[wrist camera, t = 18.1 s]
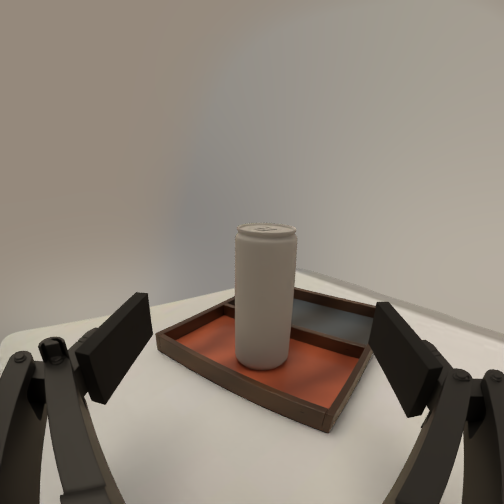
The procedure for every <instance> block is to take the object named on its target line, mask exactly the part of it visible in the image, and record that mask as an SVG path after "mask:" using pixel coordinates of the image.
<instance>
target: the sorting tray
mask: <svg viewBox="0 0 504 504" xmlns="http://www.w3.org/2000/svg"><path fill="white" fill-rule="evenodd" d="M375 308H376V306H373V305H369V304H364V303H360V302H355V301H351V300H347V299H342V298H338V297H334V296H329V295H325V294H321V293H317V292H312V291H308V290H304V289H300V288H296V287H294V296H293V308H292V320H291V330H290V341H289V351H288V357H287V359H286V360H285V361H284V362H283V363H282V364H281V365H280V366H278V367H276V368H274V369H270V370H254V369H250V368H248V367H246V366H244V365H243V364H242V363H241V362H240V361H239V360H238V359H237V358H236V354H235V296H234V297H232V298H230V299H228V300H226V301H224V302H222V303H220V304H218V305H215V306H213V307H211V308H209V309H207V310H205V311H203V312H201V313H199V314H197V315H194V316H192V317H190V318H188V319H186V320H184V321H182V322H179V323H177V324H175V325H173V326H171V327H169V328H166V329H164V330H162V331H160V332H158V333H156V334H155V335H156V342H157V348H158V350H159V351H161V352H163V353H164V354H166V355H167V356H169V357H171V358H172V359H174V360H176V361H177V362H179V363H181V364H182V365H184V366H186V367H187V368H189V369H191V370H193V371H194V372H196V373H198V374H200V375H201V376H203V377H205V378H207V379H209V380H210V381H212V382H214V383H216V384H218V385H220V386H222V387H224V388H226V389H227V390H229V391H231V392H233V393H235V394H237V395H239V396H241V397H243V398H245V399H248V400H250V401H252V402H254V403H256V404H258V405H260V406H262V407H265V408H267V409H269V410H271V411H274V412H276V413H278V414H281V415H283V416H285V417H288V418H290V419H292V420H295V421H297V422H300V423H302V424H305V425H308V426H310V427H313V428H315V429H318V430H321V431H324V432H326V433H329V431H330V430H331V428H332V427H333V425H334V423H335V422H336V420H337V419H338V417H339V415H340V413H341V412H342V410H343V408H344V407H345V405H346V403H347V401H348V400H349V398H350V396H351V394H352V392H353V391H354V389H355V387H356V385H357V383H358V381H359V379H360V378H361V376H362V374H363V372H364V370H365V368H366V366H367V364H368V362H369V360H370V358H371V356H372V353H373V351H372V349H371V347H370V346H369V344H368V341H369V337H370V332H371V328H372V323H373V318H374V313H375Z"/></svg>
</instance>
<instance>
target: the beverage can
mask: <svg viewBox="0 0 504 504" xmlns="http://www.w3.org/2000/svg"><path fill="white" fill-rule="evenodd" d="M237 230H238V233H237V234H236V236H235V354H236V358H237V359H238V360H239V361H240V362H241V363H242V364H243V365H244V366H246V367H248V368H250V369H254V370H270V369H274V368H276V367H278V366H280V365H281V364H282V363H283V362H284V361H285V360H286V359H287V357H288V351H289V341H290V330H291V320H292V308H293V296H294V283H295V269H296V254H297V237H296V235H295V234H294V233H295V232H296V229H295V228H294V227H292V226H289V225H283V224H275V223H249V224H243V225H239V226H238V227H237Z"/></svg>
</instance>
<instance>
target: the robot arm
mask: <svg viewBox="0 0 504 504" xmlns="http://www.w3.org/2000/svg"><path fill="white" fill-rule="evenodd" d="M152 335H153V331H152V324H151V316H150V308H149V300H148V293H137V292H136V293H135V294H134V295H133V296H132V297H131V298H129V299H128V300H127V301H126V302H125V303H124V304H123V305H122V306H121V307H120V308H119V309H118V310H117V311H116V312H115V313H114V314H112V315H111V316H110V317H109V318H108V319H107V320H106V321H105V322H104V323H103V324H102V325H101V326H100V327H99V328H94V329H92V330H90V331H88V332H87V333H85V334H84V335H83V336H82V338H80V339H79V340H78V342H76V343H75V344H74V345H73V346H72V347H71V348H70V349H69V350H67V347H66V344H65V341H64V339H62V338H61V337H50V338H46V339H44V340H43V341H41V342H40V343H39V346H38V348H39V351H40V354H41V356H42V359H43V362H42V361H34V360H33V357H32V355H31V353H30V352H28V351H19V352H16V353H15V354H13V355H12V356H11V357H10V358H9V361H8V363H7V365H6V367H5V369H4V371H3V373H2V375H1V378H0V504H40V474H41V461H42V451H43V443H44V435H45V428H46V422H47V416H48V420H49V427H50V434H51V440H52V445H53V450H54V455H55V460H56V464H57V468H58V473H59V476H60V480H61V484H62V487H63V492H64V494H63V495H60V502H61V504H126V503H125V501H124V499H123V497H122V495H121V493H120V491H119V489H118V487H117V485H116V483H115V481H114V478H113V476H112V474H111V471H110V469H109V467H108V464H107V462H106V459H105V457H104V454H103V452H102V449H101V446H100V444H99V441H98V438H97V435H96V432H95V429H94V426H93V423H92V420H91V417H90V413H89V410H88V406H87V403H86V400H85V398H84V396H85V395H86V393H87V392H88V393H89V395H90V398H91V400H92V401H94V402H97V403H101V404H104V405H106V403H107V402H108V400H109V399H110V397H111V396H112V394H113V393H114V391H115V390H116V388H117V387H118V385H119V384H120V382H121V381H122V379H123V378H124V376H125V375H126V373H127V372H128V370H129V369H130V367H131V366H132V364H133V363H134V361H135V360H136V358H137V357H138V355H139V354H140V353H141V351H142V350H143V348H144V347H145V345H146V344H147V342H148V341H149V340H150V338H151V337H152ZM368 344H369V346H370V347H371V349H372V351H373V353H374V355H375V357H376V358H377V360H378V362H379V364H380V366H381V368H382V370H383V371H384V373H385V375H386V377H387V379H388V381H389V383H390V385H391V387H392V389H393V390H394V392H395V394H396V396H397V398H398V400H399V402H400V404H401V406H402V408H403V410H404V412H405V414H406V416H407V418H410V417H415V416H419V415H422V413H423V411H424V409H425V407H426V405H427V407H428V409H429V410H430V411H429V413H428V415H427V417H426V419H425V421H424V422H423V424H422V426H421V428H422V429H421V432H420V434H419V436H418V438H417V441H416V443H415V445H414V447H413V449H412V451H411V453H410V455H409V457H408V459H407V461H406V463H405V465H404V467H403V469H402V471H401V473H400V475H399V477H398V478H397V480H396V482H395V484H394V485H393V487H392V489H391V490H390V492H389V494H388V495H387V497H386V499H385V500H384V502H383V503H382V504H439V503H440V500H441V498H442V495H443V493H444V490H445V488H446V485H447V482H448V480H449V477H450V474H451V471H452V468H453V465H454V462H455V459H456V455H457V452H458V448H459V445H460V441H461V437H462V433H463V436H464V479H463V495H462V504H504V374H503V373H502V372H501V371H499V370H494V369H493V370H488V371H487V372H486V373H485V375H484V377H483V379H472V376H471V375H470V374H469V373H468V372H467V371H465V370H462V369H457V368H456V369H453V368H452V366H451V365H450V364H449V363H448V362H447V360H446V359H445V358H444V357H443V356H442V354H441V353H440V352H439V351H438V350H437V349H436V347H435V346H434V345H433V344H431V343H430V342H428V341H426V340H421V339H420V338H419V336H418V335H417V334H416V333H415V332H414V330H413V329H412V328H411V327H410V326H409V325H408V324H407V322H406V321H405V320H404V319H403V318H402V317H401V316H400V314H399V313H398V312H397V311H396V310H395V309H394V308H393V307H392V305H391V304H390V303H389V302H377V303H376V308H375V313H374V318H373V323H372V328H371V332H370V337H369V341H368Z"/></svg>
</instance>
